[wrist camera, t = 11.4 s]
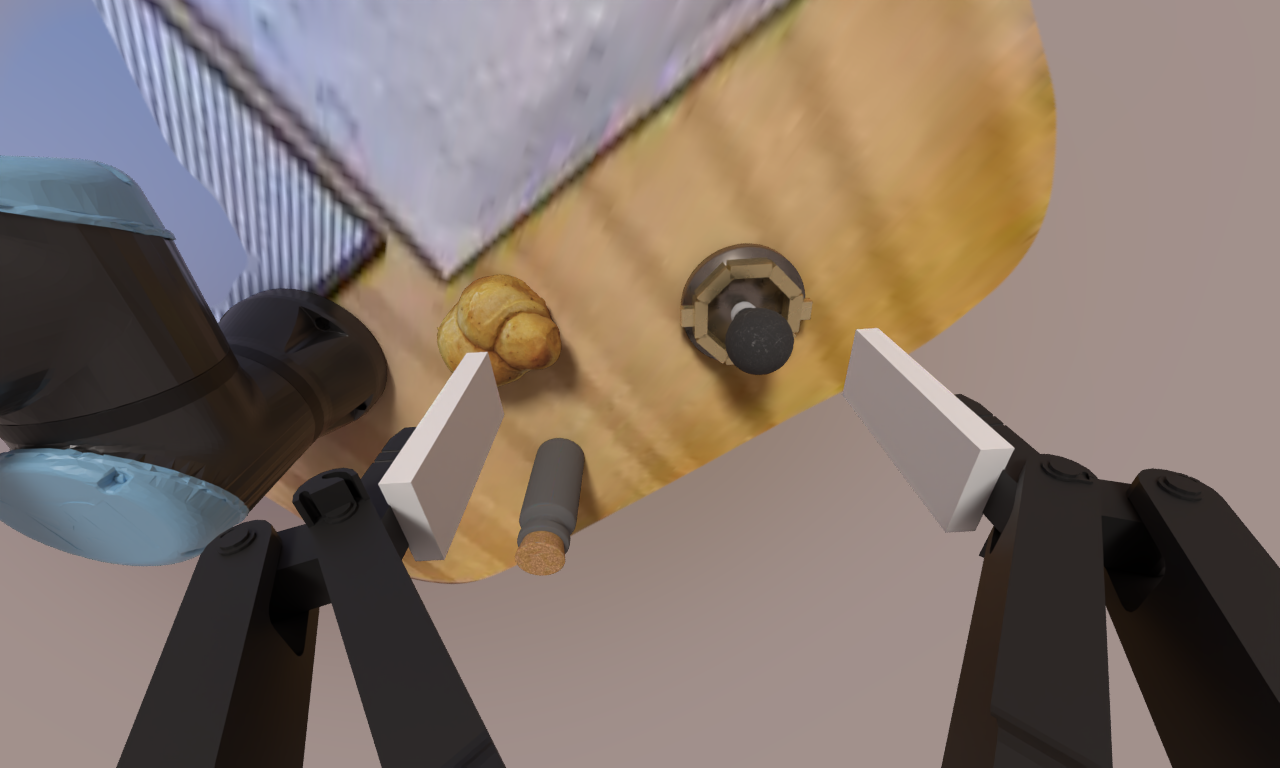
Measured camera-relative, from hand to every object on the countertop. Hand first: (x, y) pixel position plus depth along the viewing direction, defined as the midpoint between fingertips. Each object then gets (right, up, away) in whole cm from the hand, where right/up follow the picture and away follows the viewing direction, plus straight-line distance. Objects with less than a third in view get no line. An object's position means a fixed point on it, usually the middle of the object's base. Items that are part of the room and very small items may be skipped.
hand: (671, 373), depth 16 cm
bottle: (-11, -9, +39) cm, 42 cm away
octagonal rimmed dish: (+9, +8, +29) cm, 31 cm away
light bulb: (+9, +7, +28) cm, 30 cm away
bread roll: (-16, +6, +30) cm, 34 cm away
